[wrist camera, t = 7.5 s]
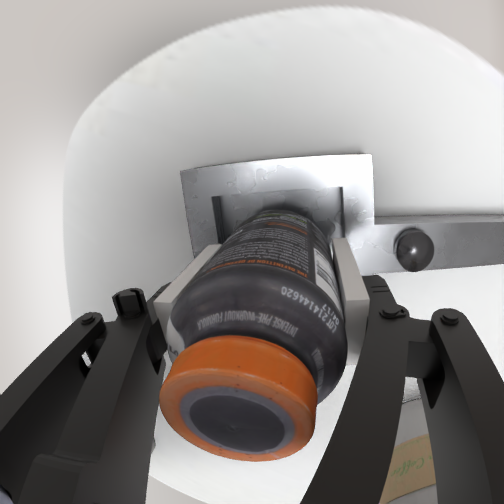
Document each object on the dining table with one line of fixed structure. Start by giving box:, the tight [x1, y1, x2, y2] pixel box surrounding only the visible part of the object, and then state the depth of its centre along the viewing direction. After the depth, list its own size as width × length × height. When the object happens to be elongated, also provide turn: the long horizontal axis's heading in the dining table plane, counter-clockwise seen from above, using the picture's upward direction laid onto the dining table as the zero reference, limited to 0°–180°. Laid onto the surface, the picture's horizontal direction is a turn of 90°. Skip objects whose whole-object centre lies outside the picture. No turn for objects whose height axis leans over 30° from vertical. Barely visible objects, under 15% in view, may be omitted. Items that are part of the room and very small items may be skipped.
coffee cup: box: [380, 399, 438, 504], centre depth 16 cm, size 9×9×15 cm
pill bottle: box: [159, 210, 348, 462], centre depth 11 cm, size 6×6×11 cm
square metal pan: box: [180, 154, 504, 276], centre depth 16 cm, size 25×11×3 cm, turn 97°
